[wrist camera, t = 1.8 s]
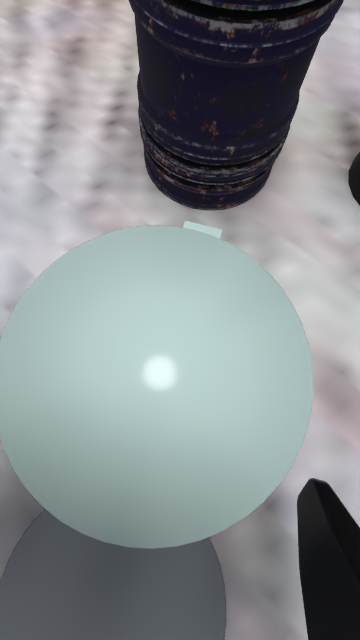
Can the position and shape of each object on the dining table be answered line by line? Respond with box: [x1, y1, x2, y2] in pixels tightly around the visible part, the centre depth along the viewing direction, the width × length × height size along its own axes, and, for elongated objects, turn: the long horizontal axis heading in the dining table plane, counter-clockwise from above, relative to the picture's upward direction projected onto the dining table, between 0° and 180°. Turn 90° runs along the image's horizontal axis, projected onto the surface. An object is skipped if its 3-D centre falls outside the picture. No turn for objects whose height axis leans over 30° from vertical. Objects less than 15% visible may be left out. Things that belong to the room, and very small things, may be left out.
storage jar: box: [129, 0, 343, 210], centre depth 16 cm, size 10×10×15 cm
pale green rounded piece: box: [0, 221, 314, 549], centre depth 12 cm, size 8×6×13 cm
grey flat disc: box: [0, 510, 226, 640], centre depth 15 cm, size 11×11×1 cm
